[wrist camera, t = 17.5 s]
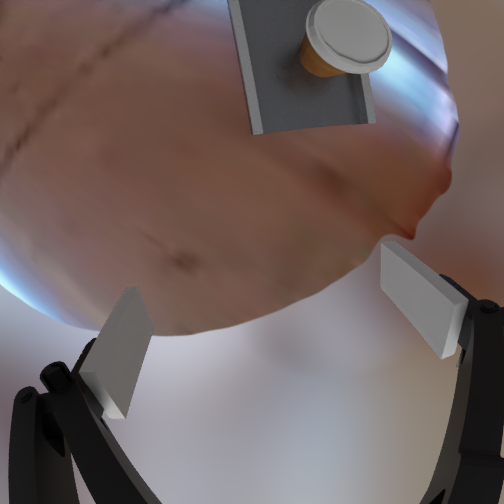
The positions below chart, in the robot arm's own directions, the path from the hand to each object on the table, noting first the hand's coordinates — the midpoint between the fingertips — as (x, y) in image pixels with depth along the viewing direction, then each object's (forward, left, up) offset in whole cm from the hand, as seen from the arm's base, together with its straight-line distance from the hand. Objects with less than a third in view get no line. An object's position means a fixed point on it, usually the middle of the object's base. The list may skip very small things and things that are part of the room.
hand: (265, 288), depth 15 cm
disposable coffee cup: (-11, +19, -26) cm, 34 cm away
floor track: (-13, +17, -27) cm, 34 cm away
